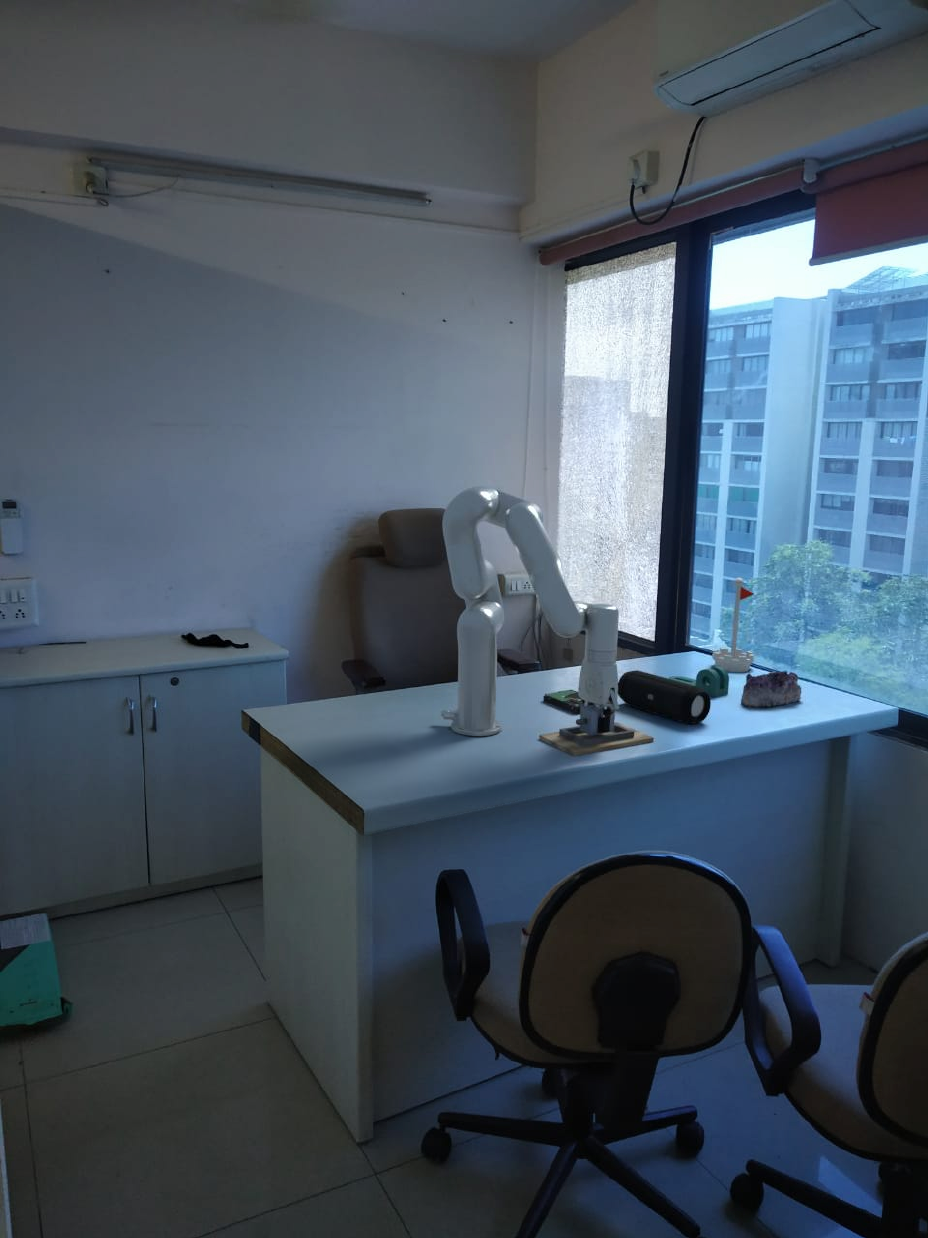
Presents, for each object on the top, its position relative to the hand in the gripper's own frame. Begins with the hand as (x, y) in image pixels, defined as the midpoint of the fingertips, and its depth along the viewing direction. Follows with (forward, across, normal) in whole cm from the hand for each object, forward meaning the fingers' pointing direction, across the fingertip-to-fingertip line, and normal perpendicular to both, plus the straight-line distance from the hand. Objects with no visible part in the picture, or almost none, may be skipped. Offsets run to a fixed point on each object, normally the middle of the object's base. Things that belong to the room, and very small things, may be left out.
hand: (596, 728), depth 223 cm
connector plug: (+1, 0, 0) cm, 1 cm away
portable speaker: (+3, -11, +30) cm, 32 cm away
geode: (+3, -6, +66) cm, 67 cm away
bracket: (+3, -26, +57) cm, 63 cm away
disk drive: (+4, -27, +14) cm, 31 cm away
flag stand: (+3, -40, +88) cm, 97 cm away
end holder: (+3, 0, 0) cm, 3 cm away
